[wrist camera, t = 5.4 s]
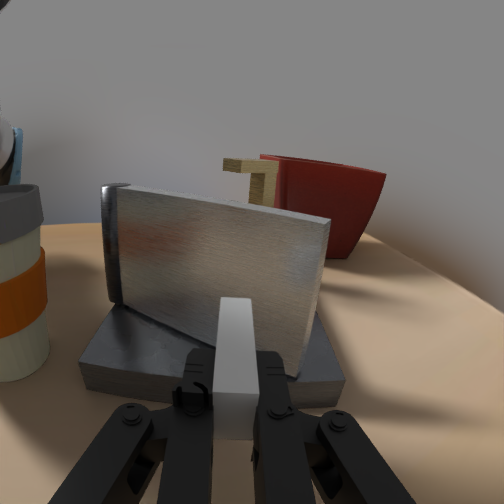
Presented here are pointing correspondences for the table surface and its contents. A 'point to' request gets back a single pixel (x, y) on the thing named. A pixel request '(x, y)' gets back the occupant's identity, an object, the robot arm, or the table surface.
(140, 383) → the dark grey flat slab
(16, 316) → the reusable coffee cup
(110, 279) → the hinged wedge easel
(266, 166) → the wooden l-shaped post
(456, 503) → the table surface
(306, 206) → the plant pot
